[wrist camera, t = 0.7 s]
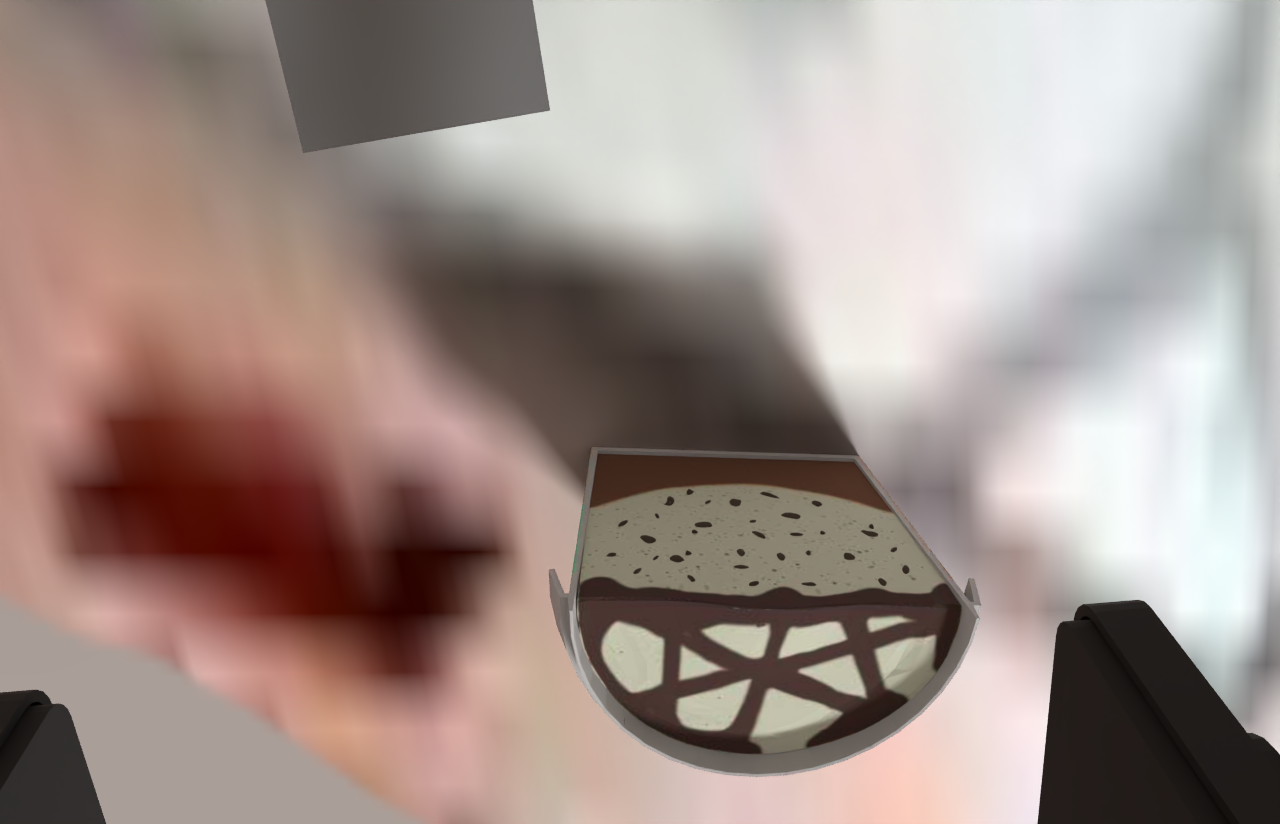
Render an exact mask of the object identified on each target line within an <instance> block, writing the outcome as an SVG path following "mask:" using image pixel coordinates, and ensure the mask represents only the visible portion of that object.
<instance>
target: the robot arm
mask: <svg viewBox="0 0 1280 824" xmlns="http://www.w3.org/2000/svg"><path fill="white" fill-rule="evenodd" d="M0 824H106V822H105V819H104V816H103V813H102V810H101V806H100V804H99V800H98V798H97V794H96V791H95V788H94V785H93V782H92V779H91V776H90V773H89V770H88V767H87V764H86V760H85V758H84V754H83V751H82V748H81V745H80V742H79V739H78V736H77V733H76V730H75V727H74V724H73V720H72V717H71V715H70V713H69V711H68V709H67V708H66V707H65V706H64V705H62V704H52V703H51V701H50V699H49V697H48V696H47V695H46V694H45V693H44V692H43V691H39V690H27V691H16V692H3V693H0ZM1038 824H1280V755H1279V753H1278V752H1277V751H1276V750H1275V749H1274V748H1273V747H1272V746H1271V745H1270V744H1269V743H1268V742H1267V741H1266V740H1265V739H1264V738H1263V737H1260V736H1258V735H1256V734H1253V733H1247V732H1246V731H1245V730H1244V728H1243V727H1242V726H1241V724H1240V723H1239V722H1238V720H1237V719H1236V718H1235V717H1234V715H1233V714H1232V713H1231V711H1230V710H1229V709H1228V707H1227V706H1226V705H1225V704H1224V702H1223V701H1222V700H1221V698H1220V697H1219V696H1218V694H1217V693H1216V692H1215V690H1214V689H1213V688H1212V687H1211V685H1210V684H1209V683H1208V681H1207V680H1206V679H1205V677H1204V676H1203V675H1202V674H1201V672H1200V671H1199V670H1198V668H1197V667H1196V666H1195V664H1194V663H1193V662H1192V661H1191V659H1190V658H1189V657H1188V655H1187V654H1186V653H1185V651H1184V650H1183V649H1182V648H1181V646H1180V645H1179V644H1178V642H1177V641H1176V640H1175V638H1174V637H1173V636H1172V635H1171V633H1170V632H1169V631H1168V629H1167V628H1166V627H1165V625H1164V624H1163V623H1162V621H1161V620H1160V619H1159V618H1158V616H1157V615H1156V614H1155V612H1154V611H1153V610H1152V608H1151V607H1150V606H1149V605H1148V604H1147V603H1145V602H1144V601H1140V600H1132V601H1120V602H1107V603H1095V604H1083V605H1081V606H1080V607H1078V609H1077V611H1076V613H1075V617H1074V621H1064V622H1062V623H1060V625H1059V627H1058V629H1057V634H1056V642H1055V652H1054V663H1053V673H1052V683H1051V693H1050V703H1049V713H1048V724H1047V734H1046V744H1045V754H1044V764H1043V775H1042V785H1041V795H1040V805H1039V815H1038Z"/></svg>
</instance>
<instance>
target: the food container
mask: <svg viewBox="0 0 1280 824" xmlns="http://www.w3.org/2000/svg"><path fill="white" fill-rule="evenodd" d="M549 582H550V598H551V602H552V607H553V611H554V615H555V619H556V624H557V627H558V630H559V632H560V635H561V637H562V640H563V642H564V645H565V648H566V650H567V653H568V655H569V657H570V659H571V662H572V664H573V666H574V669H575V671H576V673H577V676H578V677H579V679H580V680H581V682H582V683H583V685H584V686H585V688H586V689H587V691H588V692H589V694H590V695H591V697H592V698H593V700H594V701H595V702H596V703H597V704H598V705H599V706H600V707H601V708H602V709H603V711H604V712H605V713H606V714H607V715H608V716H609V717H610V718H611V719H612V720H613V721H614V722H615V723H616V724H617V725H618V726H619V727H620V728H621V729H622V730H623V731H624V732H626V733H627V734H628V735H630V736H631V737H632V738H634V739H635V740H636V741H638V742H639V743H640V744H642V745H643V746H645V747H646V748H648V749H650V750H652V751H654V752H656V753H658V754H660V755H662V756H664V757H666V758H667V759H669V760H672V761H675V762H678V763H681V764H684V765H687V766H689V767H692V768H695V769H699V770H704V771H709V772H714V773H719V774H724V775H734V776H749V777H764V776H781V775H790V774H795V773H801V772H806V771H812V770H817V769H820V768H823V767H826V766H829V765H833V764H836V763H839V762H842V761H845V760H848V759H850V758H852V757H854V756H856V755H859V754H861V753H863V752H865V751H868V750H870V749H872V748H874V747H875V746H877V745H879V744H880V743H882V742H884V741H885V740H887V739H889V738H890V737H892V736H893V735H895V734H897V733H898V732H900V731H901V730H902V729H903V728H905V727H906V726H907V725H908V724H910V723H911V722H912V721H913V720H915V719H916V718H917V717H918V716H920V715H921V714H922V713H923V712H924V711H925V710H926V709H927V708H928V707H929V706H930V705H931V704H932V703H933V701H934V700H935V699H936V698H937V697H938V696H939V695H940V694H941V693H942V692H943V691H944V689H945V688H946V686H947V685H948V683H949V682H950V681H951V679H952V678H953V676H954V675H955V674H956V672H957V671H958V669H959V668H960V666H961V664H962V662H963V660H964V658H965V656H966V654H967V652H968V650H969V648H970V646H971V644H972V641H973V638H974V635H975V632H976V629H977V625H978V622H979V619H980V618H979V616H978V614H979V611H980V608H981V603H980V599H979V595H978V591H977V587H976V584H975V580H974V579H970V578H969V580H968V583H967V586H966V589H965V593H963V592H962V591H961V589H960V588H959V587H958V585H957V584H956V583H955V581H954V580H953V579H952V577H951V576H950V575H949V573H948V572H947V571H946V570H945V568H944V567H943V566H942V564H941V563H940V562H939V560H938V559H937V558H936V556H935V555H934V554H933V552H932V551H931V550H930V549H929V547H928V546H927V545H926V543H925V542H924V541H923V539H922V538H921V537H920V535H919V534H918V533H917V531H916V530H915V529H914V528H913V526H912V525H911V524H910V522H909V521H908V520H907V518H906V517H905V516H904V514H903V513H902V512H901V510H900V509H899V508H898V507H897V505H896V504H895V503H894V501H893V500H892V499H891V497H890V496H889V495H888V493H887V492H886V491H885V489H884V488H883V487H882V486H881V484H880V483H879V482H878V480H877V479H876V478H875V476H874V475H873V474H872V472H871V471H870V470H869V468H868V467H867V466H866V465H865V463H864V462H863V461H862V459H861V458H860V457H859V456H858V455H827V454H796V453H765V452H734V451H703V450H672V449H641V448H610V447H591V453H590V459H589V466H588V472H587V479H586V486H585V492H584V499H583V505H582V512H581V519H580V525H579V532H578V538H577V545H576V551H575V558H574V565H573V571H572V578H571V584H570V591H569V594H565V593H564V591H563V589H562V586H561V584H560V581H559V579H558V576H557V574H556V572H555V569H551V570H549Z"/></svg>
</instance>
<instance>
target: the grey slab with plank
mask: <svg viewBox="0 0 1280 824" xmlns="http://www.w3.org/2000/svg"><path fill="white" fill-rule="evenodd" d="M266 4H267V8H268V12H269V16H270V20H271V25H272V29H273V33H274V37H275V41H276V45H277V49H278V53H279V57H280V61H281V65H282V69H283V73H284V77H285V81H286V85H287V89H288V93H289V97H290V101H291V105H292V109H293V113H294V117H295V121H296V125H297V129H298V134H299V138H300V142H301V146H302V150H303V153H305V152H311V151H317V150H323V149H329V148H334V147H340V146H346V145H352V144H358V143H363V142H369V141H375V140H381V139H387V138H393V137H398V136H404V135H410V134H416V133H422V132H427V131H433V130H439V129H445V128H451V127H456V126H462V125H468V124H474V123H480V122H485V121H491V120H497V119H503V118H509V117H515V116H520V115H526V114H532V113H538V112H544V111H549V110H550V108H549V101H548V95H547V89H546V83H545V76H544V70H543V64H542V57H541V51H540V45H539V39H538V32H537V26H536V20H535V13H534V7H533V1H532V0H266Z"/></svg>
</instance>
